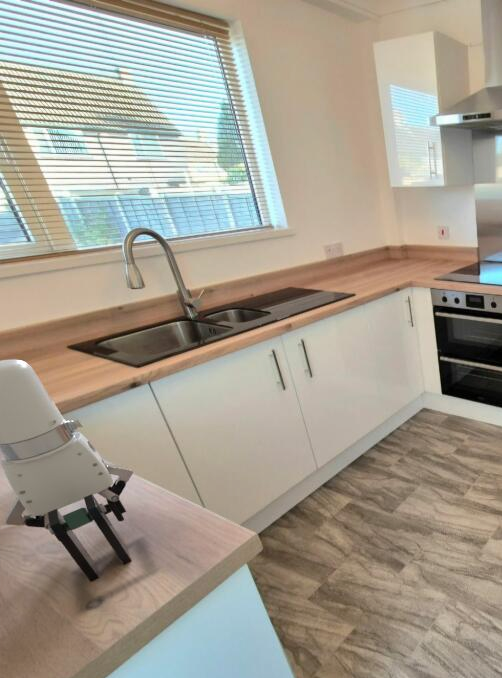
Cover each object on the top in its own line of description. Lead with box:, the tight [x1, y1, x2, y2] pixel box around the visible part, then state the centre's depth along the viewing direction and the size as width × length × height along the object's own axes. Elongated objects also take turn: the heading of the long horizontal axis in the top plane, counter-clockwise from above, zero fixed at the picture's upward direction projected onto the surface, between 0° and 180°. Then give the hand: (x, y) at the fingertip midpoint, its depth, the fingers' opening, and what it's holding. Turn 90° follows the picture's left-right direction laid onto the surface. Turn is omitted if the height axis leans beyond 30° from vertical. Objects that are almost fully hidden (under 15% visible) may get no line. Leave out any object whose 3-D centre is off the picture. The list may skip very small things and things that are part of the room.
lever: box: [62, 503, 113, 531], centre depth 67 cm, size 13×6×2 cm
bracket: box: [48, 494, 132, 583], centre depth 65 cm, size 10×8×13 cm
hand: (95, 527), depth 72 cm, fingers open, 5 cm apart
